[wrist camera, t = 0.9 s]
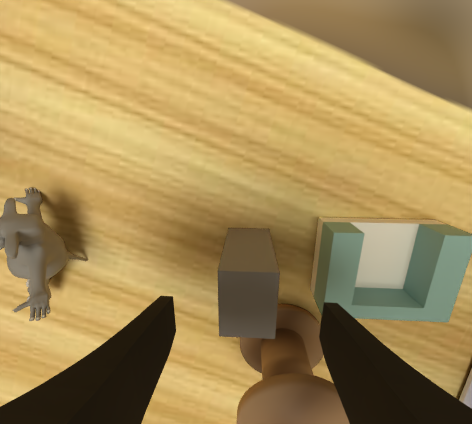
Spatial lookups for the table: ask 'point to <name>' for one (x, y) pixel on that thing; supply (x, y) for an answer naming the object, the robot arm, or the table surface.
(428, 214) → the table surface
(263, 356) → the bobbin
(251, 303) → the plug
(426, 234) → the notch board
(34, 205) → the grey animal figure
